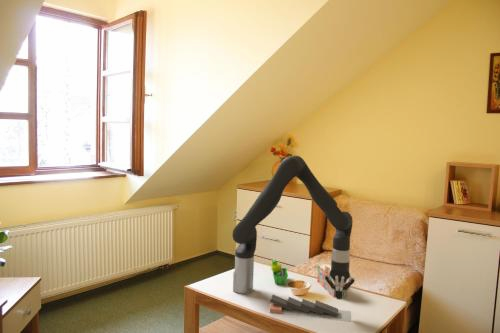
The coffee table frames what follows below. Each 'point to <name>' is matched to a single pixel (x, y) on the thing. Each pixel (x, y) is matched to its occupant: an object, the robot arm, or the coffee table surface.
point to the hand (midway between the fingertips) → (338, 298)
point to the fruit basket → (279, 272)
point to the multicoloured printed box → (322, 271)
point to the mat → (341, 315)
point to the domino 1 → (275, 308)
